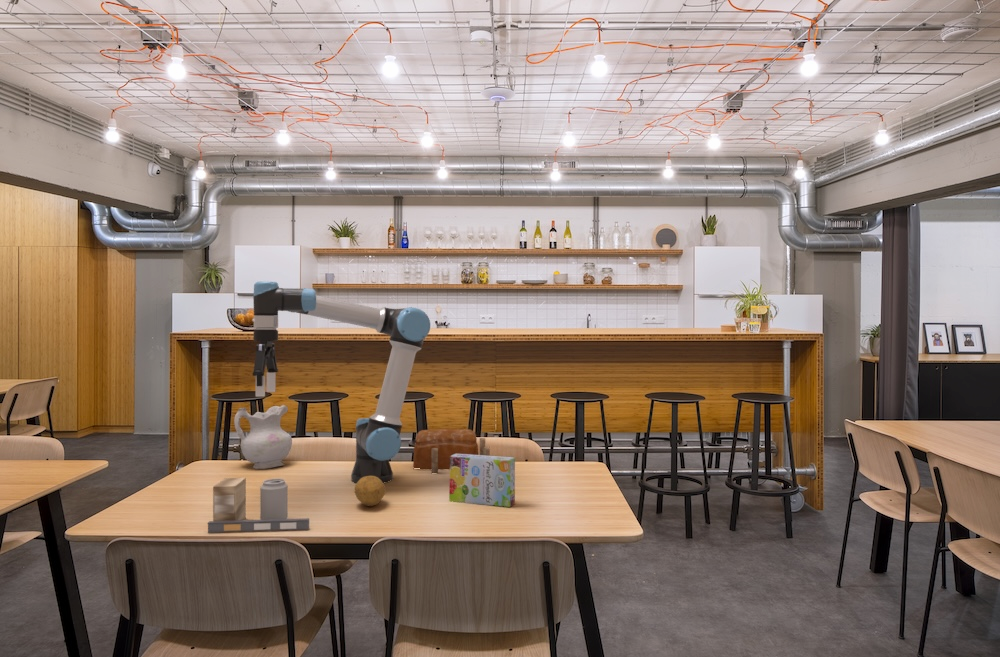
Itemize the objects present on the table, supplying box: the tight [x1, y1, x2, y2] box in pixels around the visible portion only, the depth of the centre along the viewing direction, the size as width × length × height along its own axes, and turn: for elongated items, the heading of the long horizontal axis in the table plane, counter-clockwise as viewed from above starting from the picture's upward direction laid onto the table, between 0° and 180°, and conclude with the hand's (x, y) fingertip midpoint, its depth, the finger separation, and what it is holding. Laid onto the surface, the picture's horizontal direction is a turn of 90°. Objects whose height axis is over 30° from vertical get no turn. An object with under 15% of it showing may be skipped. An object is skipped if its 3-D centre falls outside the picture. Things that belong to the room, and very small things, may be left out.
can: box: [259, 478, 289, 520], centre depth 186 cm, size 8×8×12 cm
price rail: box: [207, 517, 310, 534], centre depth 177 cm, size 27×2×3 cm, turn 96°
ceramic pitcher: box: [233, 404, 293, 470], centre depth 255 cm, size 22×20×25 cm
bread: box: [412, 428, 479, 469], centre depth 256 cm, size 14×26×16 cm, turn 94°
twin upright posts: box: [431, 437, 491, 474], centre depth 255 cm, size 22×22×10 cm
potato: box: [354, 476, 387, 507], centre depth 202 cm, size 10×13×9 cm
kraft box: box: [212, 477, 247, 521], centre depth 183 cm, size 6×10×12 cm, turn 6°
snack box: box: [448, 454, 516, 508], centre depth 206 cm, size 21×6×15 cm, turn 71°
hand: (265, 394), depth 207 cm, fingers open, 13 cm apart
